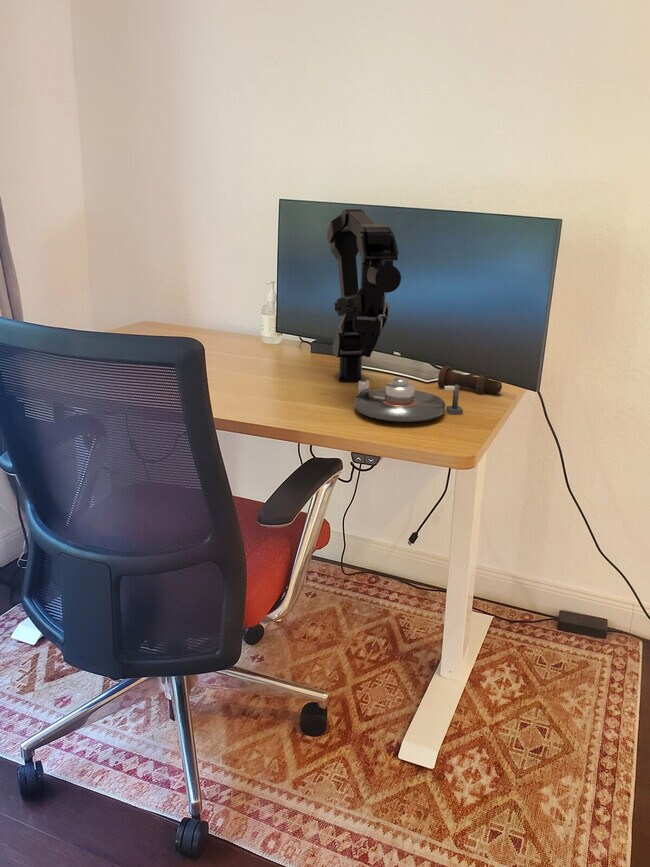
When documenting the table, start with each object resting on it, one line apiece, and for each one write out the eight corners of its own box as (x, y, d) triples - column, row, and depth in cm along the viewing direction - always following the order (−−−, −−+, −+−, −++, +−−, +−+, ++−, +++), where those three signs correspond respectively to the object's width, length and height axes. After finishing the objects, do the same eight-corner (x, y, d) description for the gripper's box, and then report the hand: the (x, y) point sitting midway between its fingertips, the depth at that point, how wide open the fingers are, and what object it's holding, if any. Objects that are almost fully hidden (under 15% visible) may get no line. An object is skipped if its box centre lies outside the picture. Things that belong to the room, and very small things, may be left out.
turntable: (458, 403, 170) (460, 384, 168) (422, 428, 154) (424, 407, 152) (378, 388, 179) (379, 370, 178) (336, 410, 163) (337, 391, 162)
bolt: (497, 403, 181) (438, 391, 187) (504, 389, 184) (446, 377, 190) (496, 386, 177) (436, 374, 183) (503, 372, 179) (444, 361, 186)
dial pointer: (441, 410, 169) (443, 383, 167) (459, 410, 169) (461, 383, 167) (444, 414, 166) (446, 387, 164) (462, 414, 167) (465, 387, 164)
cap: (382, 396, 169) (384, 375, 167) (411, 396, 169) (412, 375, 167) (387, 405, 163) (388, 383, 161) (416, 405, 163) (417, 383, 161)
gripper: (344, 275, 178) (342, 340, 183) (330, 289, 161) (328, 360, 166) (391, 278, 176) (387, 343, 182) (382, 292, 159) (378, 363, 164)
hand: (370, 352), depth 173 cm, fingers open, 8 cm apart
